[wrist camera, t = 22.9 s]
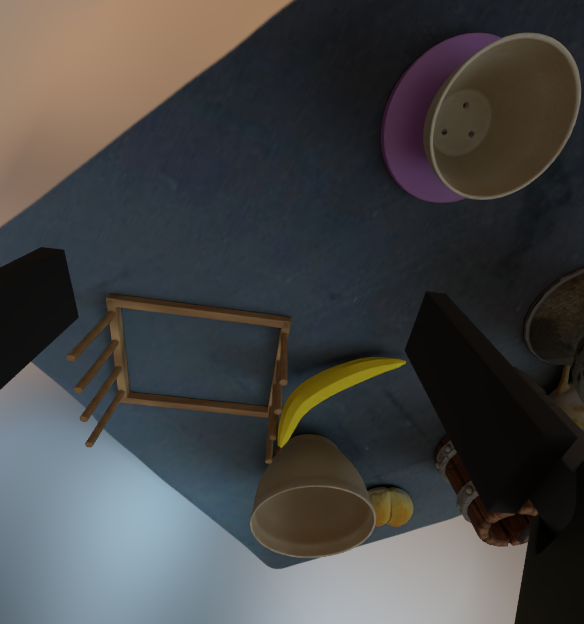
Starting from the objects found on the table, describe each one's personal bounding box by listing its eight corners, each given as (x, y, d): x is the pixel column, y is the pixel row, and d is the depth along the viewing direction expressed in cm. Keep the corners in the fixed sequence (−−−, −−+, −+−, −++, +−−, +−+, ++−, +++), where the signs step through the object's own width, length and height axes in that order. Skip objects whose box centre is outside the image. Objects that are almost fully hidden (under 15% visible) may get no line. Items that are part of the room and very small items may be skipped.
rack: (110, 293, 38) (60, 340, 30) (290, 316, 40) (291, 367, 32) (123, 396, 46) (86, 456, 38) (274, 412, 48) (270, 473, 39)
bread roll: (402, 513, 60) (409, 537, 57) (354, 510, 60) (358, 534, 56) (417, 486, 56) (425, 510, 53) (365, 481, 56) (371, 505, 52)
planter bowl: (359, 482, 56) (373, 555, 46) (263, 487, 56) (258, 561, 47) (361, 413, 48) (379, 484, 38) (250, 419, 48) (241, 491, 39)
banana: (380, 347, 46) (414, 377, 41) (257, 418, 41) (279, 461, 36) (380, 332, 44) (415, 361, 39) (250, 405, 39) (273, 448, 34)
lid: (406, 21, 27) (411, 16, 26) (555, 52, 28) (566, 49, 27) (364, 189, 33) (366, 191, 32) (487, 209, 34) (494, 212, 33)
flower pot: (380, 112, 29) (405, 108, 22) (492, 22, 26) (557, -11, 20) (430, 207, 33) (463, 226, 26) (533, 137, 30) (597, 141, 24)
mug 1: (431, 482, 56) (475, 581, 41) (425, 411, 51) (472, 494, 37) (503, 473, 54) (574, 571, 40) (504, 399, 50) (584, 480, 36)
